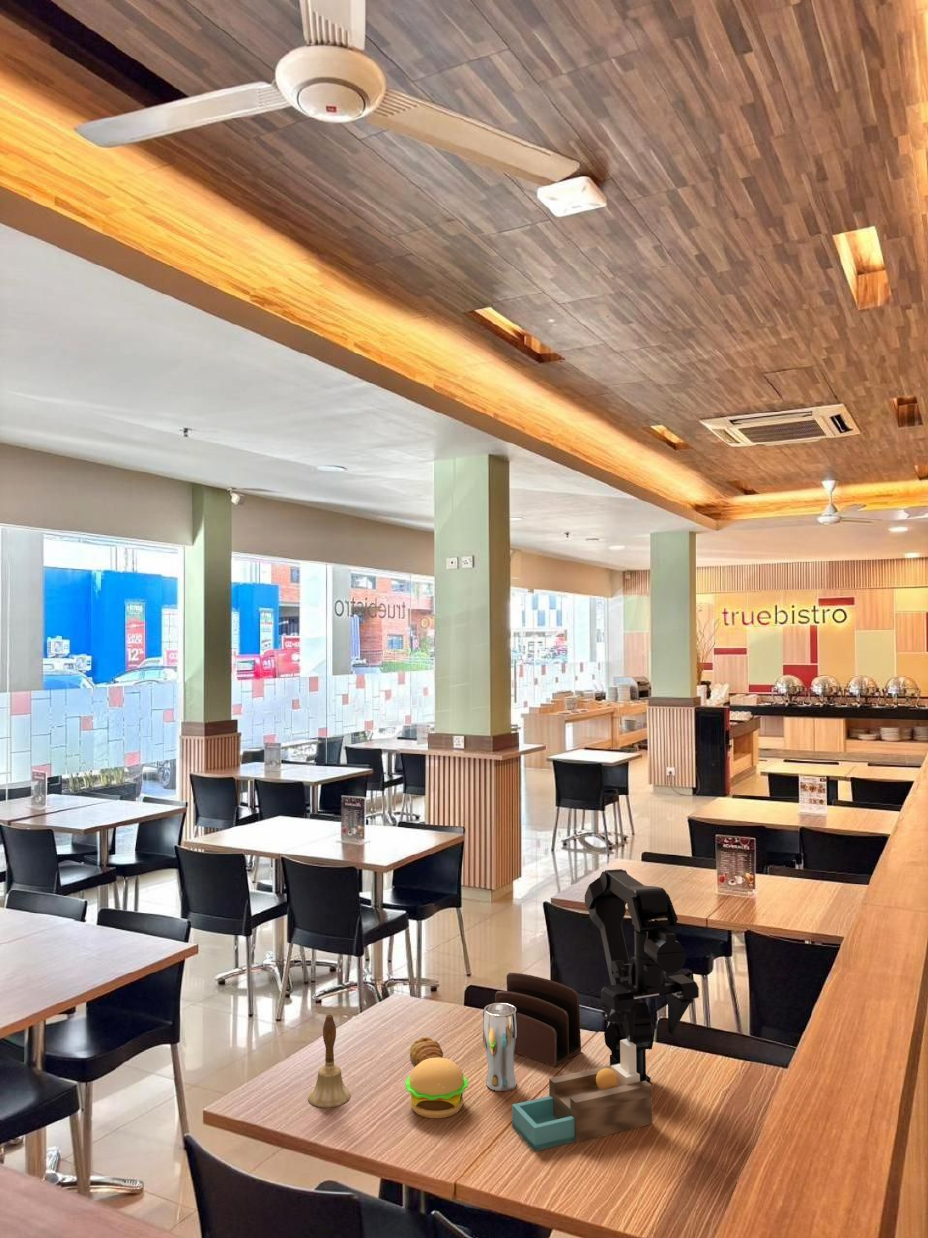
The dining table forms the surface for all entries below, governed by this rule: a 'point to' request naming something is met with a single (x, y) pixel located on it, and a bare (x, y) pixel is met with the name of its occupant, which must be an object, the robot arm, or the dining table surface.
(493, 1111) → the dining table surface
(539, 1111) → the teal open box
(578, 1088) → the launcher deck
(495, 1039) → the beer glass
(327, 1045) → the hand bell
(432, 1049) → the pastry
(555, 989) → the letter holder
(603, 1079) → the ball
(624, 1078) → the white offset block
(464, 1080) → the hamburger
